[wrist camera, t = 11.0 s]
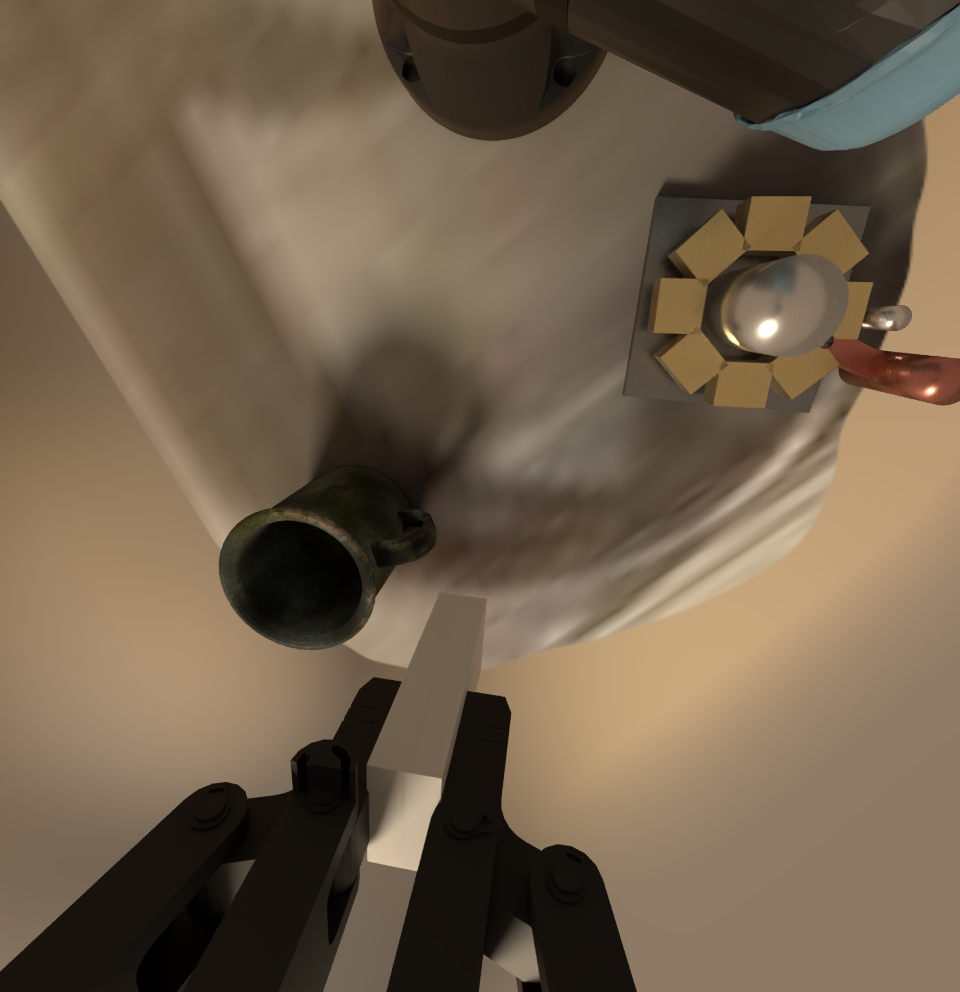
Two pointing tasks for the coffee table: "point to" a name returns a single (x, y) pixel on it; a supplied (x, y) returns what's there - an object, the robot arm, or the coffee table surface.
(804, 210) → the toothed crank wheel
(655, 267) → the spindle base
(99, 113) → the coffee table surface
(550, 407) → the coffee table surface
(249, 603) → the mug
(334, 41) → the coffee table surface
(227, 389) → the coffee table surface
